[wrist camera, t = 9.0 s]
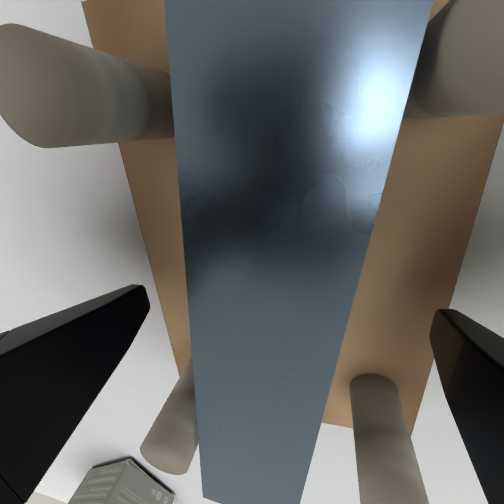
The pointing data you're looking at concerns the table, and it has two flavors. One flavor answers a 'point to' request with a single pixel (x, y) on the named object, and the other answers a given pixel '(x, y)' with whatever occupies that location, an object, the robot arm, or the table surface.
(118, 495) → the skincare box
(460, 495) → the table surface
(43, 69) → the peg rack
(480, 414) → the robot arm
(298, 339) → the steel bar
